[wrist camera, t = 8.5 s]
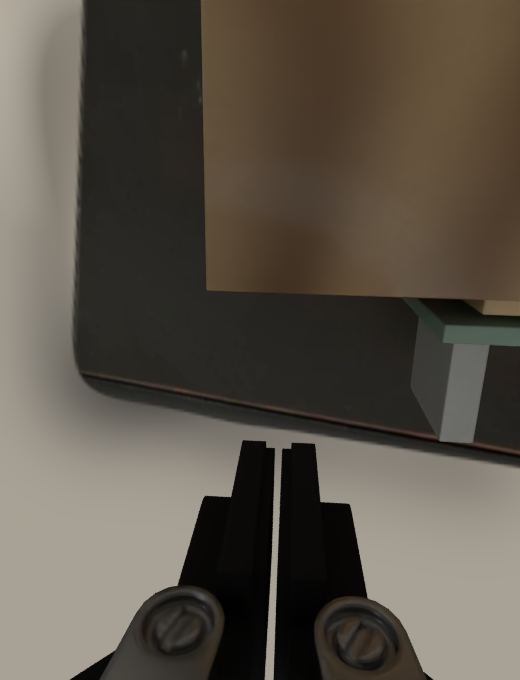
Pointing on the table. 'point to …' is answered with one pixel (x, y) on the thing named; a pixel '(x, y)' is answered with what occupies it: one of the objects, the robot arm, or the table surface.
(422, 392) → the sliding door
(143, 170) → the table surface
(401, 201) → the cabinet
